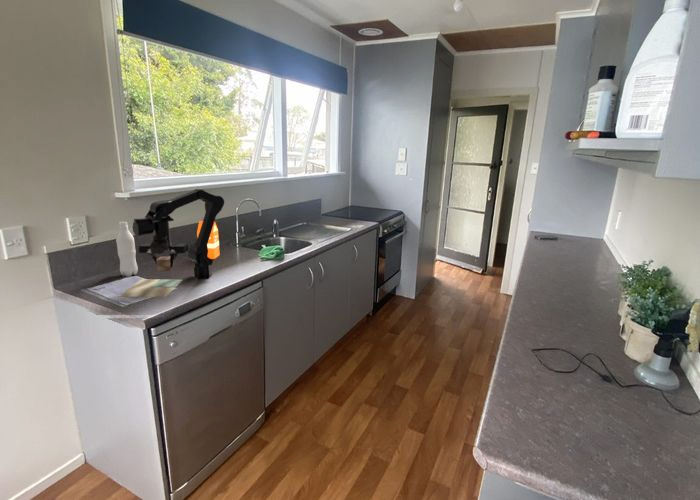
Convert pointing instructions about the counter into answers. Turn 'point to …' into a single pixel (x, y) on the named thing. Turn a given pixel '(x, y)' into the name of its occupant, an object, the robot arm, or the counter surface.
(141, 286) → the birch board
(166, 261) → the walnut block
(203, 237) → the robot arm
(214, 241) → the orange juice
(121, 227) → the water bottle
